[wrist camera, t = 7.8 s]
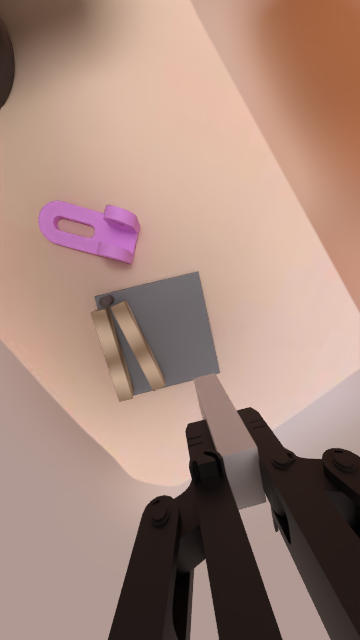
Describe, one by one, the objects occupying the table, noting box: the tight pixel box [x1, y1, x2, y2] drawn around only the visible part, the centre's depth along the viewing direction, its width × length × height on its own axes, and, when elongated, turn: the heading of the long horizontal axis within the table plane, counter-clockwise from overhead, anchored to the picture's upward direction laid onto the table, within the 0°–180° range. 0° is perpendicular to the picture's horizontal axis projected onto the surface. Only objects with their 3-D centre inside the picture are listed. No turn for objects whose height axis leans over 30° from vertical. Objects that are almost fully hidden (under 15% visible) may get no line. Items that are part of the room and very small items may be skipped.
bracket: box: [39, 201, 140, 264], centre depth 28 cm, size 13×6×7 cm, turn 76°
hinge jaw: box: [110, 300, 165, 391], centre depth 33 cm, size 14×2×2 cm, turn 24°
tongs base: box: [91, 295, 134, 402], centre depth 33 cm, size 16×3×3 cm, turn 14°
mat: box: [95, 272, 220, 396], centre depth 35 cm, size 17×16×1 cm
